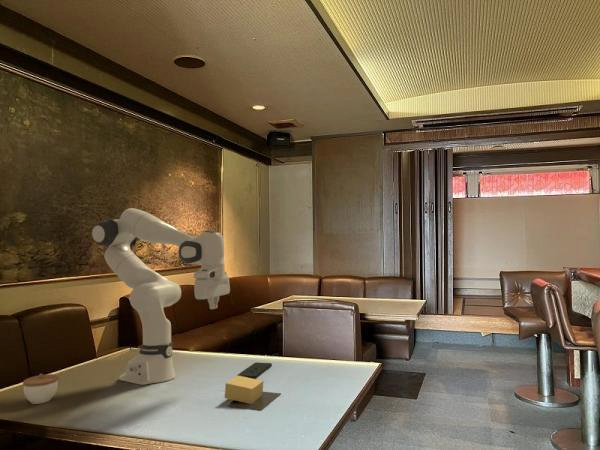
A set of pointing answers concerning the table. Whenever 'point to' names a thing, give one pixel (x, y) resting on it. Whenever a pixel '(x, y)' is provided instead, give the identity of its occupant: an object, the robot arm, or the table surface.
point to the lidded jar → (40, 388)
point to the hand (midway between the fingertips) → (213, 308)
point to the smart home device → (255, 370)
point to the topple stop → (255, 402)
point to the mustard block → (244, 389)
